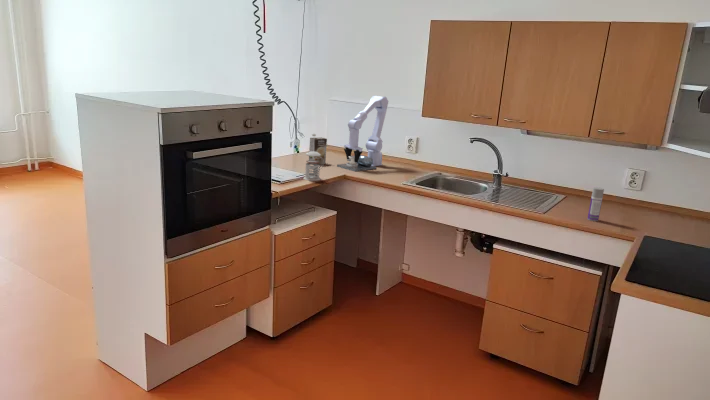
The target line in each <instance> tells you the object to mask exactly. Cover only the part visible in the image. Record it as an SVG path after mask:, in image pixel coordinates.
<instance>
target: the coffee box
mask: <svg viewBox="0 0 710 400" xmlns="http://www.w3.org/2000/svg"><path fill="white" fill-rule="evenodd" d="M313 145H314V152H318V153H319V154H321V155H320V157H322V158H323V159H322V158H320V157H318V156H308V160H315V161H319V163H317V164H318V165H319V164H320V165H321V164H322V165H323V160H324V164H326V160H327V159H326V158H327V145H328V139H327V138H325V137H310V138H309V150H308V151H309V152H311V151H313ZM318 158H320V159H318ZM321 159H322V160H321Z"/></svg>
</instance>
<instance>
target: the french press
mask: <svg viewBox="0 0 710 400" xmlns="http://www.w3.org/2000/svg"><path fill="white" fill-rule="evenodd" d="M311 135H312V137H316V136H317V134H316V133H313V134H311ZM320 155H321V154H319V153H318V152H314V145H313V151H311V152H306V153H305V156H308V157H309V156H318V157H320ZM320 158H322V157H320ZM320 158H318V159H320ZM322 159H323V158H322ZM322 159H321V160H322ZM317 163H319V161H315V160H309V159H307V160H306V163H305V176H304V177H303V180H306V181H313V182H315V181H316V182H317V181H321V177H320V170H321V169H323V166H324V160H323V164H317Z"/></svg>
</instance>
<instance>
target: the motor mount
mask: <svg viewBox="0 0 710 400" xmlns="http://www.w3.org/2000/svg"><path fill="white" fill-rule="evenodd" d="M353 156H355V155H354V154H353ZM372 164H373V159H372V158H371V157H368V155H367V156H366V155H362V154H361V155H360V157H359V160H358V162H356V164H349V161H347V162H346V163H338V164H336V167H338V168H341V169H345V170H349V171H352V172H361V171H371V170H376V169H377V166H371V165H372Z"/></svg>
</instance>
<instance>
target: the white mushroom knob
mask: <svg viewBox="0 0 710 400" xmlns="http://www.w3.org/2000/svg"><path fill="white" fill-rule="evenodd" d="M346 161H347V162H349V164H356V162H355V156H354V155H351V156H349V159H347V158H346Z"/></svg>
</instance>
